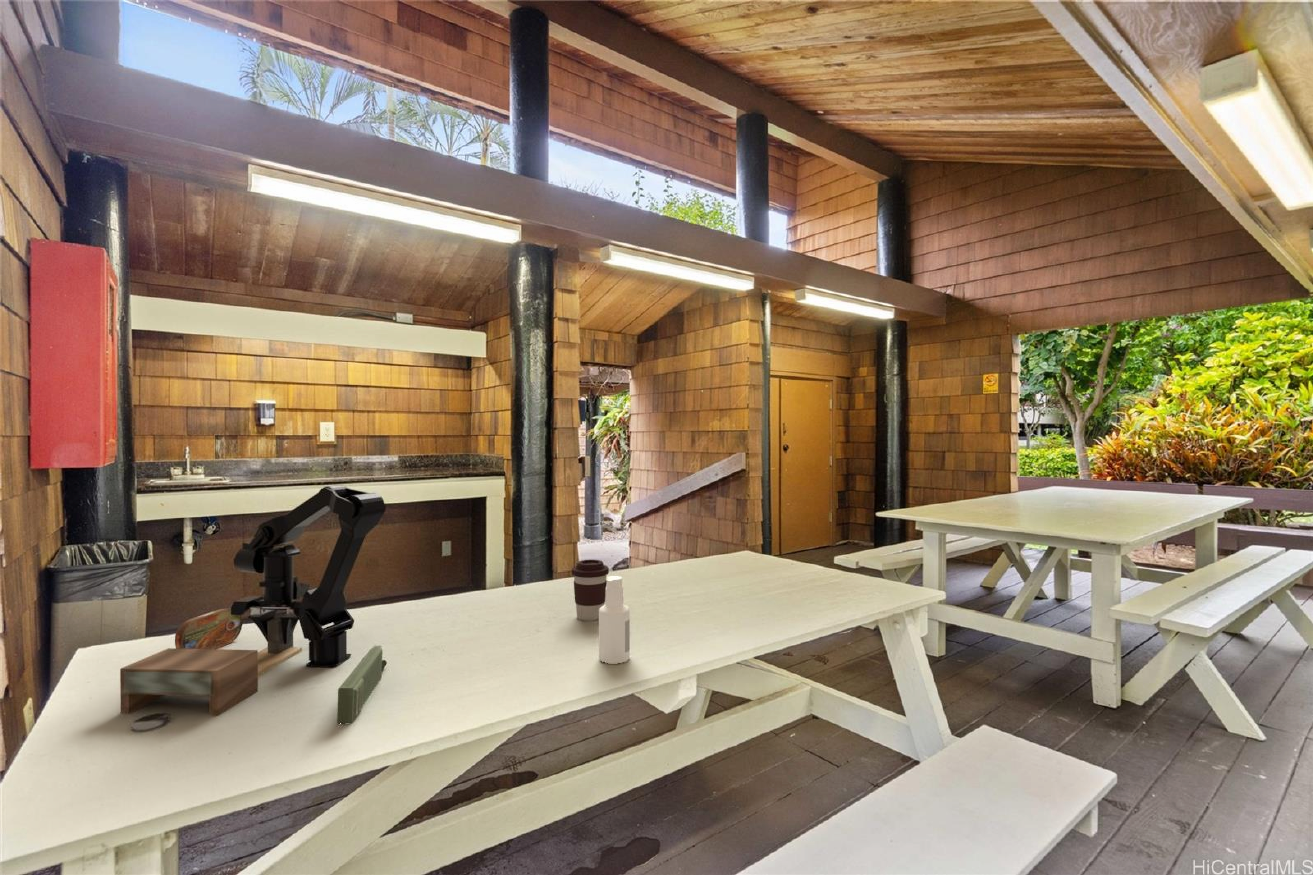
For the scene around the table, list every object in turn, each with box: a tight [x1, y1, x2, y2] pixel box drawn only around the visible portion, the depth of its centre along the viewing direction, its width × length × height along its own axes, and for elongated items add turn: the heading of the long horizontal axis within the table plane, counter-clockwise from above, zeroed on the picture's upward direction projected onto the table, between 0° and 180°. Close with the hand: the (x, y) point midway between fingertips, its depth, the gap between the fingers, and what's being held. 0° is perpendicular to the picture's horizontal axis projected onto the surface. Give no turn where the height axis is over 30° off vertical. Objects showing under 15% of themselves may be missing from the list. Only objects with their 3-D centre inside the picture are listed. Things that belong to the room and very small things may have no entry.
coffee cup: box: [571, 559, 610, 622], centre depth 162 cm, size 10×10×15 cm
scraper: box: [258, 613, 303, 677], centre depth 127 cm, size 8×22×8 cm, turn 177°
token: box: [131, 712, 171, 733], centre depth 103 cm, size 5×5×1 cm
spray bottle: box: [598, 575, 631, 665], centre depth 133 cm, size 7×7×18 cm
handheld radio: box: [336, 645, 388, 725], centre depth 116 cm, size 7×3×25 cm
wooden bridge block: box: [119, 647, 259, 717], centre depth 112 cm, size 18×10×8 cm, turn 87°
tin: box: [174, 607, 243, 649], centre depth 139 cm, size 15×3×8 cm, turn 168°
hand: (279, 643), depth 136 cm, fingers open, 3 cm apart
